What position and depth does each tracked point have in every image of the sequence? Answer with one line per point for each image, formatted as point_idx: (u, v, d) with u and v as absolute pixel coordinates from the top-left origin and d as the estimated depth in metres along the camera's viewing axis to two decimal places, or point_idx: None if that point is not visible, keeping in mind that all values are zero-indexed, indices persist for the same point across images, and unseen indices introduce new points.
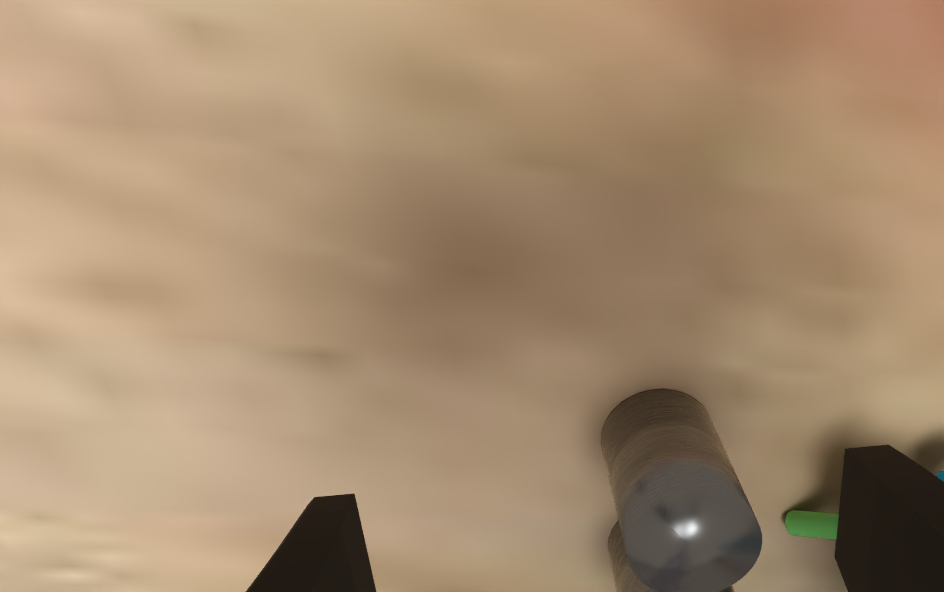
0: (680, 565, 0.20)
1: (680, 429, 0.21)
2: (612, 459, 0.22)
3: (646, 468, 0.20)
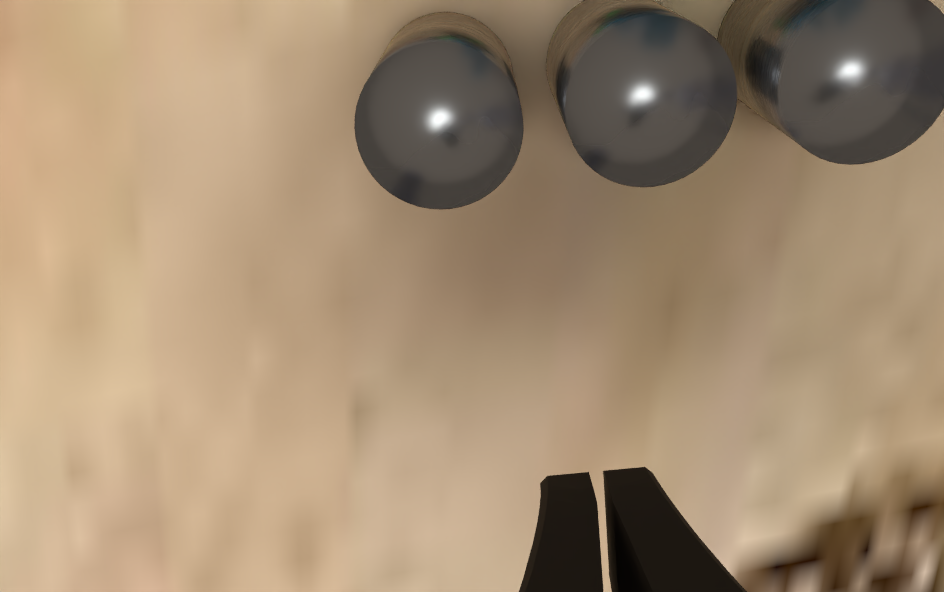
0: (469, 143, 0.16)
1: None
2: None
3: None
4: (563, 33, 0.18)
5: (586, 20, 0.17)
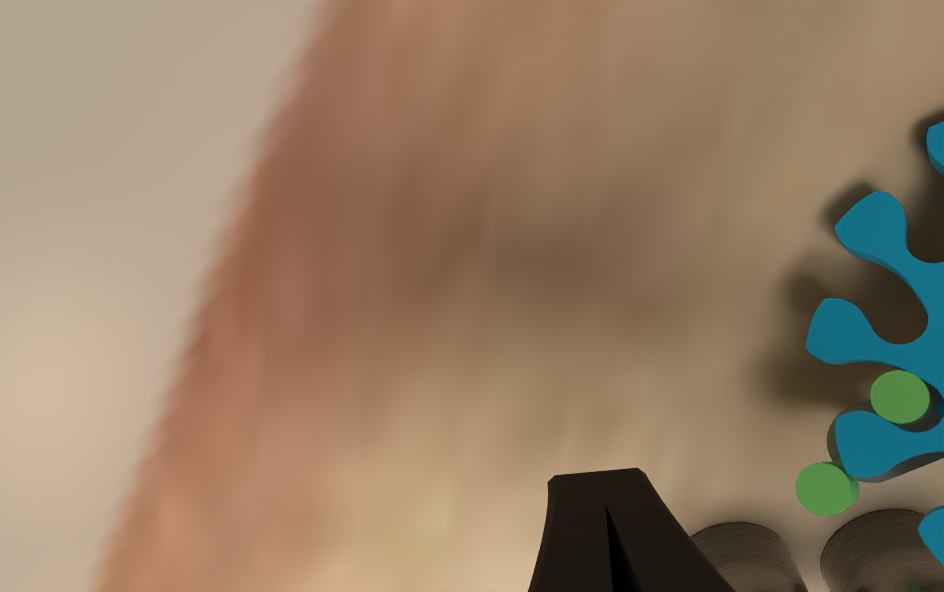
0: None
1: None
2: None
3: None
4: (858, 568, 0.20)
5: (893, 585, 0.19)
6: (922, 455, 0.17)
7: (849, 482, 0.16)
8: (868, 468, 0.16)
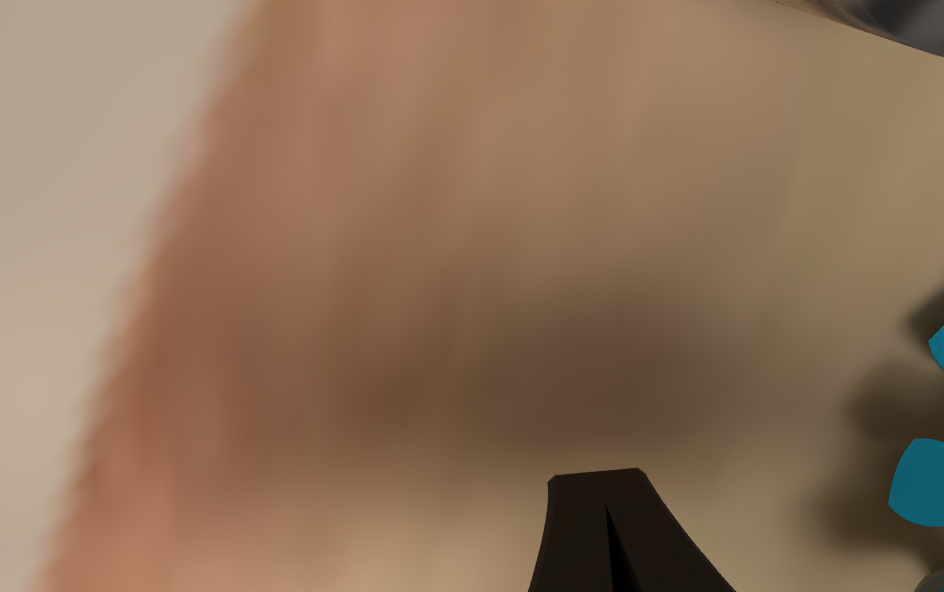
0: None
1: None
2: None
3: None
4: None
5: None
6: None
7: None
8: None
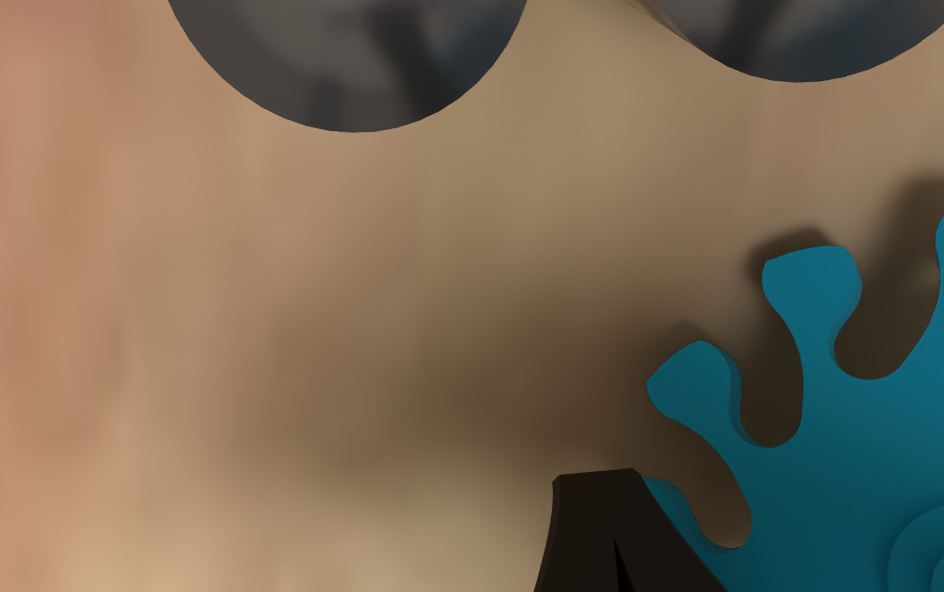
0: None
1: None
2: None
3: None
4: None
5: None
6: None
7: None
8: None
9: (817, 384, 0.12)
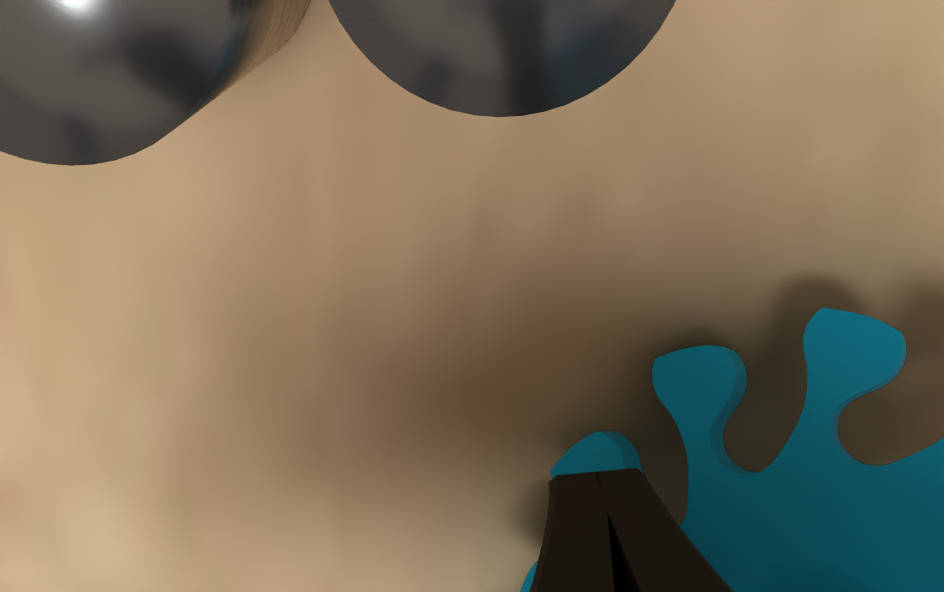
0: None
1: None
2: None
3: None
4: None
5: None
6: None
7: None
8: None
9: (701, 477, 0.13)
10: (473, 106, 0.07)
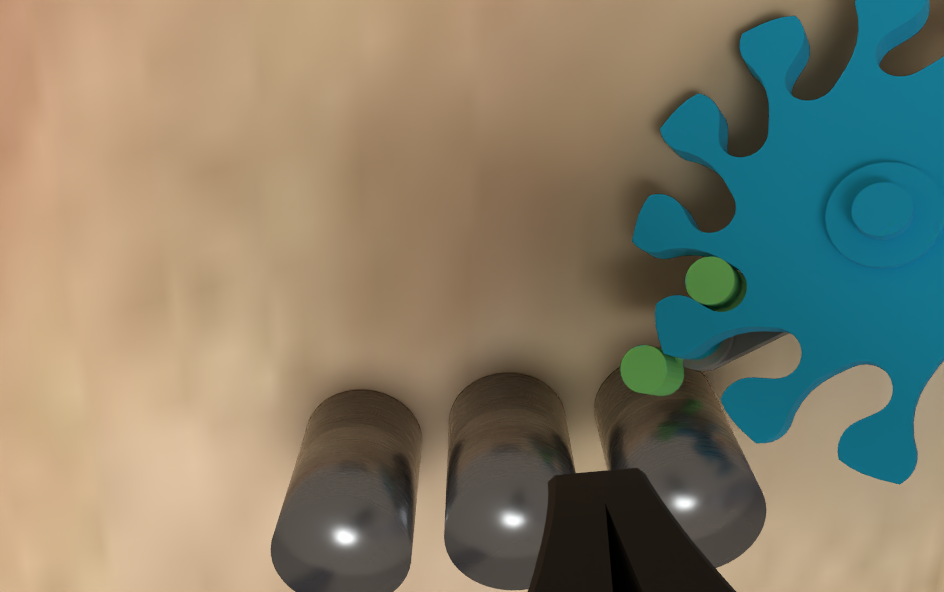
0: (367, 563, 0.19)
1: None
2: None
3: None
4: (456, 425, 0.21)
5: (470, 434, 0.20)
6: (743, 342, 0.19)
7: (665, 361, 0.18)
8: (681, 347, 0.17)
9: (778, 109, 0.17)
10: None
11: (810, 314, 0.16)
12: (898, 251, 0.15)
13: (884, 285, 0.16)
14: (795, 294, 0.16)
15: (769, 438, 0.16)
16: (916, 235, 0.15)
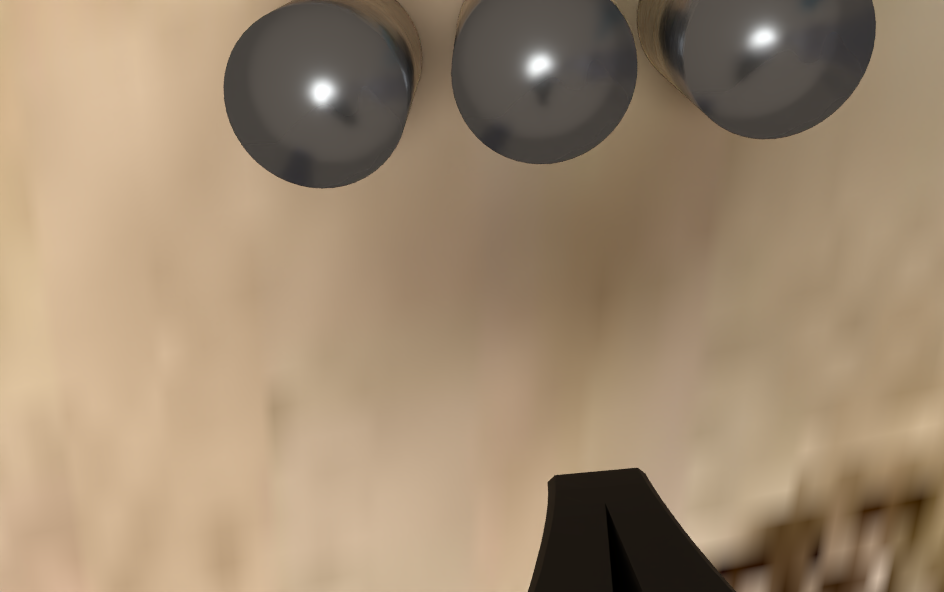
0: (349, 115, 0.14)
1: None
2: None
3: None
4: (466, 1, 0.17)
5: None
6: None
7: None
8: None
9: None
10: None
11: None
12: None
13: None
14: None
15: None
16: None
